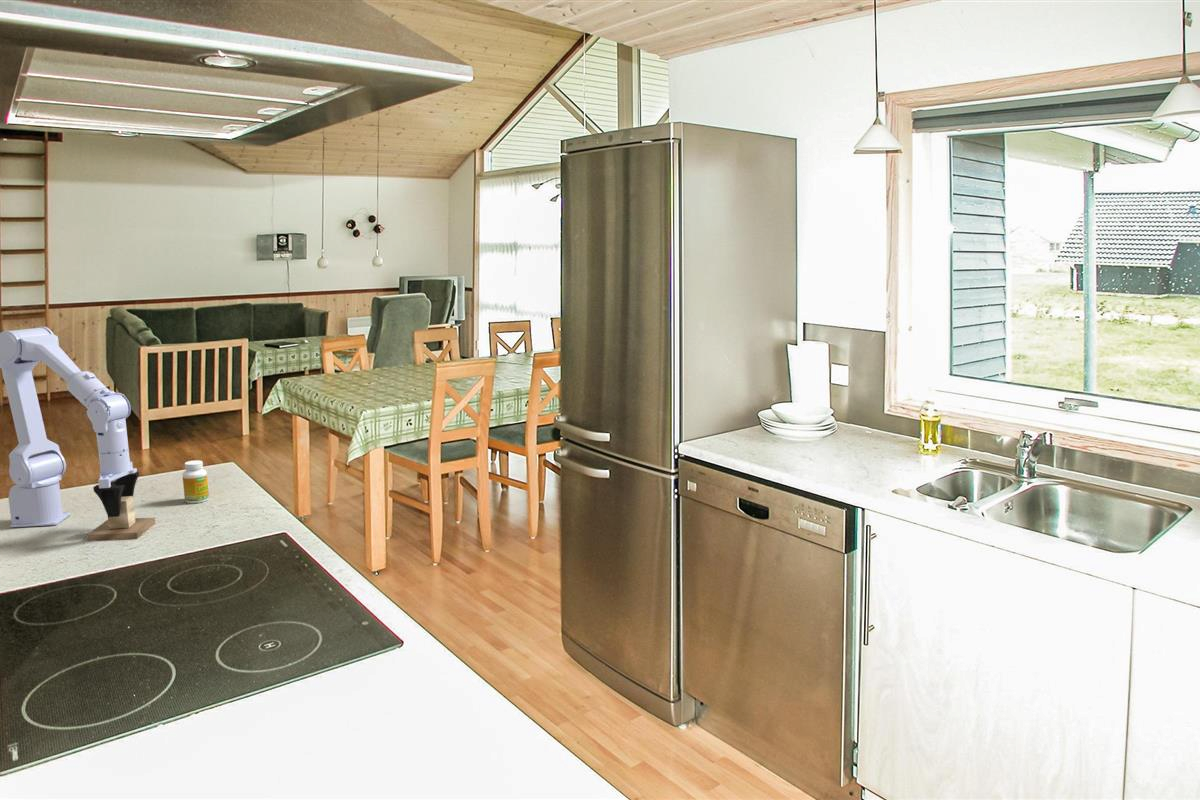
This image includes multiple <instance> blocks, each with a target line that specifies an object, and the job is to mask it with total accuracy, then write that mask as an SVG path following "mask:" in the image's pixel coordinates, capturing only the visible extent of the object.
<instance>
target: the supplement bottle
mask: <svg viewBox="0 0 1200 800" xmlns="http://www.w3.org/2000/svg"><path fill="white" fill-rule="evenodd" d="M184 469H185V471H183V472H182V483H183V494H184V502H185V503H186V502H187V503H186V504H200V503H201V502H202V503H205V502H207V501H208V500H209V499H210V492H209V485H208V484H209V481H208V473H207V471H206V469H204V463H203V461H202V460H200V459H199V460H197V459H196V460H189V461H186V462H185V463H184Z"/></svg>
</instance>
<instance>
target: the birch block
mask: <svg viewBox="0 0 1200 800" xmlns="http://www.w3.org/2000/svg"><path fill="white" fill-rule="evenodd" d="M135 518H136V514H135V506H134V495H133V496H126V497H121V510H120V516H118V517H108V516H107V520H108V522H109V529H118V528H129V527H131V526H132V525H133V524H134V523H135Z"/></svg>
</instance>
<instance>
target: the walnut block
mask: <svg viewBox="0 0 1200 800" xmlns="http://www.w3.org/2000/svg"><path fill="white" fill-rule="evenodd" d="M155 525H156V517H137V518H136V517H135V523H134V524H133V525H132V526H131V527H129V528H118V529H109V522H108V519H106V520H105V521H104V522H102V523H101V524H100V525H98V526H97V527H96V528H95V529H93V530H92V531H91V532H89V533H88V534H87V535H86V536H87V537H86V538H87V541H88V540H96V541H112V540H111V539H121V540H138V539H139V538H140V537H141V536H143V535H144V534H145V533H147V531H149V530H150V529H151V528H152V527H153V526H155ZM150 527H151V528H150ZM149 528H150V529H149ZM143 533H144V534H143ZM142 534H143V535H142Z"/></svg>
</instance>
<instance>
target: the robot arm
mask: <svg viewBox="0 0 1200 800" xmlns="http://www.w3.org/2000/svg"><path fill="white" fill-rule="evenodd" d="M41 362H42V363H44V365H46V366H47V367H49V368H50V369H51V370H52V371H53V372H55V373H56V374H57V375H58V376H60V377H61V378H62V379H63V380H64V381H65V382H67V383H66V388H67V391H68V392H69V393H71V395H72V396H74V398H75V399H77V401H79V403H81V404H82V405H83V406H84V407H85V408H86V409H87V410H86V415H87V417H88V419H89V420H90V422H91V424H92V429H93V432H94V433H95V435H96V442H97V449H98V451H97V452H98V459H99V468H100V469H99V470H100V471H99V479H98V480H97V481H98V484H96V485H94V486H93V492H94V494H96V496H98V498H99V499H100V501H101V503H102V505H103V508H104V510H105V513H106V515H107V518H108V517H118V516H120V510H121V497H126V496H133V497H134V492H135V487H136V484H137V481H138V478H139V476H140V472H139V471H138V470H137V469H138V468H136V467H133V465H134V464H133V461H131V459H130V449H129V441H128V440H129V439H128V431H127V430H128V429H127V422H126V421H127V420H126V419H128V418H129V416H130V415H131V413H132V411H131V410H132V407H131V403H130V401H129V399H128V398H127V396H125V394H124V393H122V392H115V391H114V390H112V391H111V390H110V389H109V388H108V387H107V386H106V385H105V384H104V383H102V381H100V379H98V378H97V377H96V375H95V374H94V373H93V372H91V371H87V370H85V371H82V370H81V369H80V368H79V367H78V365H77V364H75V363H74V361H73V360H72V359H71V358H70V357H69V356H68V354H66V352H65V351H64V350H63V349H62V348H61V347H60V343H59V337H58V335H56V334H54V332H53V331H52V329H50V328H49V327H47V326H38V327H34V328H33V327H32V328H23V329H15V330H14V329H13V330H3V331H1V332H0V369H1V373H2V377H3V380H4V385H5V389H6V394H7V399H8V402H9V407H10V411H11V414H12V419H13V420H12V421H13V423H14V424H13V425H14V428H15V433H16V437H17V442H18V444H17V445H16V446H15V448H14V449H13V450H12V451H11V452H10V453H9V455H8V459H9V468H8V474H9V477H10V479H11V481H12V482H13V483H14V485H12V486H11V488H9V491H8V505H9V506H8V507H9V511H10V512H9V514H10V521H11V524H10V528H23V527H26V528H27V527H40V526H41V527H42V526H55V525H56V526H57V525H58V524H59V523H61V522H62V521H64V520H65V519H66V518H68V517H69V516H70V515H71V512H69V511H68V512H67V511H66V512H63V511H64V510H63V503H62V496H61V486H60V481H62V476H63V475H64V474H65V472H66V469H67V462H66V460H65V457H64V456H63V454H62V452H61V449H60V445H59V444H58V443H55V442H54V441H51V440H49V439H48V438H47V433H46V429H45V425H44V424H45V423H44V420H43V416H42V411H41V407H40V402H39V398H38V394H37V389H36V385H35V380H34V377H33V372H32V371H33V370H34V368H35V367H36V366H37V364H39V363H41Z"/></svg>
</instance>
